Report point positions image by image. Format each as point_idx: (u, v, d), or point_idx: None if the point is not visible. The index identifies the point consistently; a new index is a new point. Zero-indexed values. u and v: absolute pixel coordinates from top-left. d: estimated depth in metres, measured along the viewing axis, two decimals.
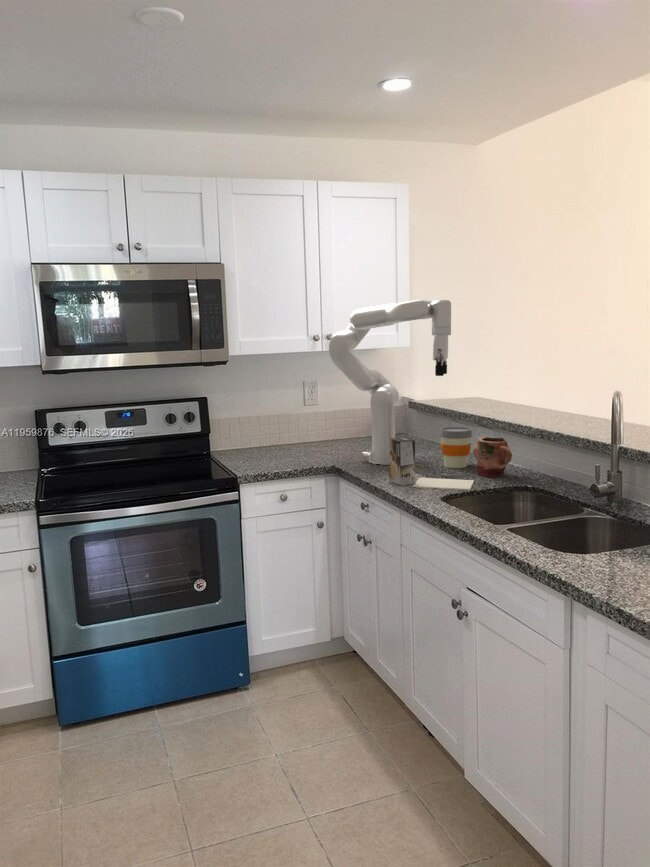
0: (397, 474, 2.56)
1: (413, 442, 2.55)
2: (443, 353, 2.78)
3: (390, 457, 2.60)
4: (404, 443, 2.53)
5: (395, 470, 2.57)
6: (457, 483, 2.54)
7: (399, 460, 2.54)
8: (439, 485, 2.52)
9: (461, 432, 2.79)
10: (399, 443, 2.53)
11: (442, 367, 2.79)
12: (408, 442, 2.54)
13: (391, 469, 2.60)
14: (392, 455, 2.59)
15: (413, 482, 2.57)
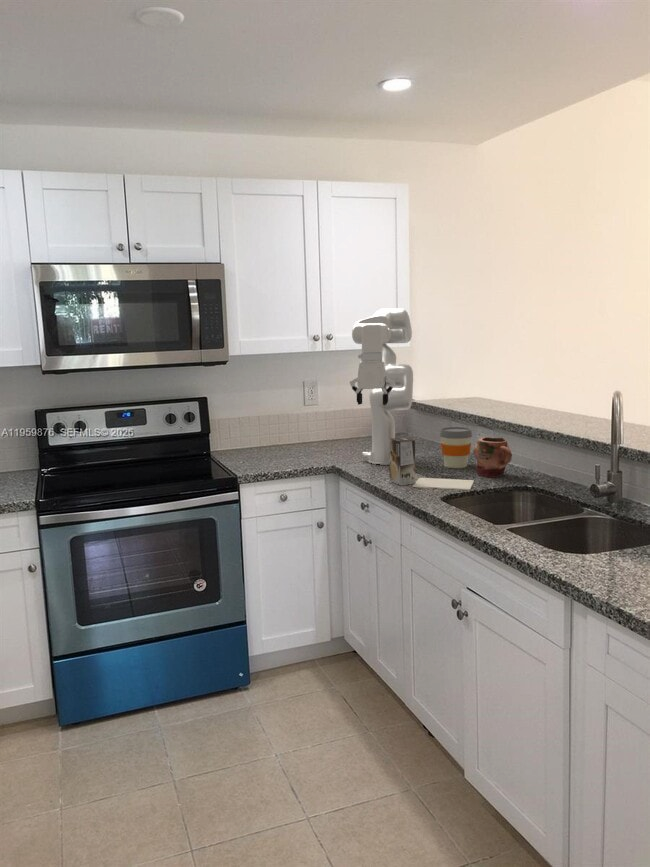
0: (397, 474, 2.56)
1: (413, 442, 2.55)
2: (386, 380, 2.61)
3: (390, 457, 2.60)
4: (404, 443, 2.53)
5: (395, 470, 2.57)
6: (457, 483, 2.54)
7: (399, 460, 2.54)
8: (439, 485, 2.52)
9: (461, 432, 2.79)
10: (399, 443, 2.53)
11: None
12: (408, 442, 2.54)
13: (391, 469, 2.60)
14: (392, 455, 2.59)
15: (413, 482, 2.57)
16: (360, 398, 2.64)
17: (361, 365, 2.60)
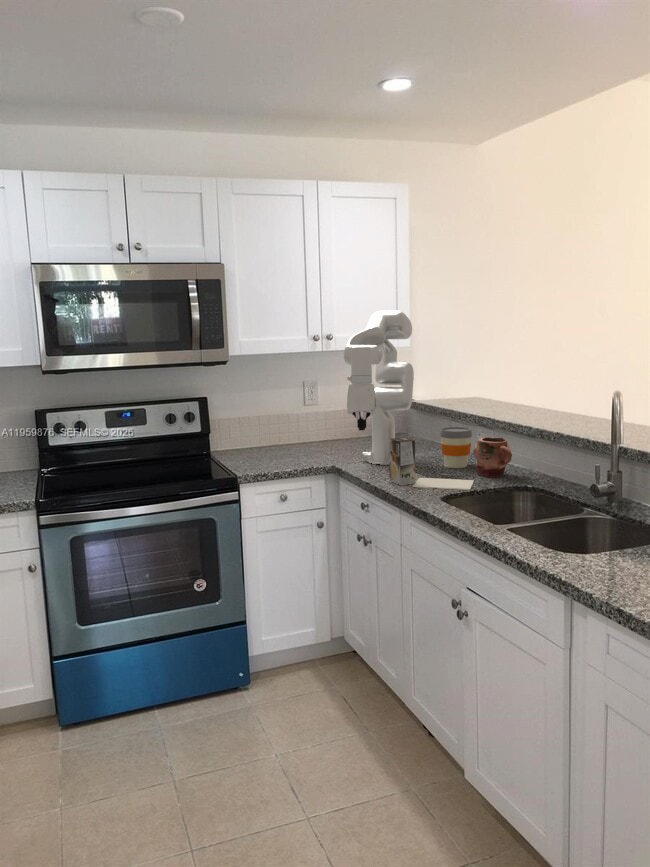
0: (397, 474, 2.56)
1: (413, 442, 2.55)
2: (375, 402, 2.60)
3: (390, 457, 2.60)
4: (404, 443, 2.53)
5: (395, 470, 2.57)
6: (457, 483, 2.54)
7: (399, 460, 2.54)
8: (439, 485, 2.52)
9: (461, 432, 2.79)
10: (399, 443, 2.53)
11: None
12: (408, 442, 2.54)
13: (391, 469, 2.60)
14: (392, 455, 2.59)
15: (413, 482, 2.57)
16: None
17: (351, 387, 2.57)
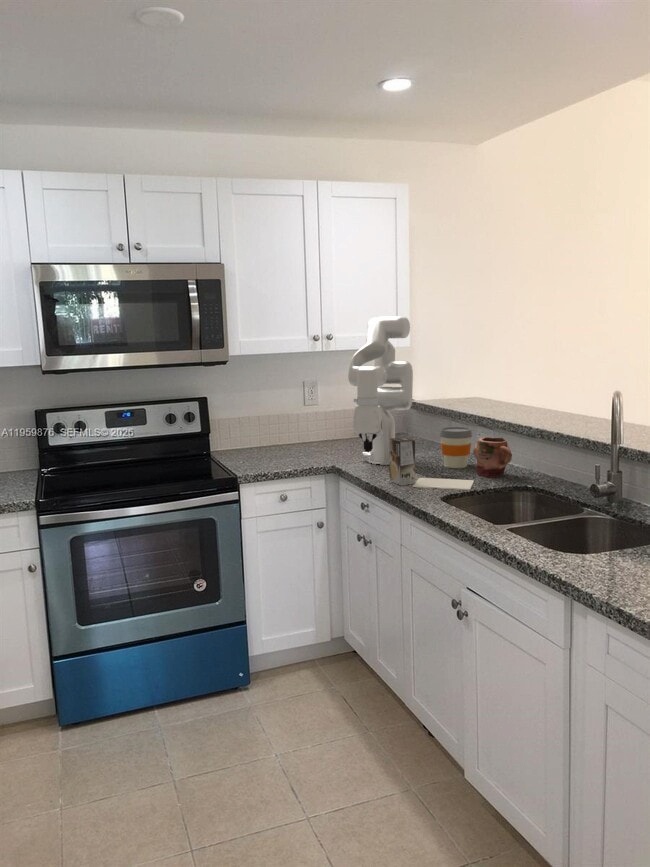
0: (397, 474, 2.56)
1: (413, 442, 2.55)
2: (382, 424, 2.60)
3: (390, 457, 2.60)
4: (404, 443, 2.53)
5: (395, 470, 2.57)
6: (457, 483, 2.54)
7: (399, 460, 2.54)
8: (439, 485, 2.52)
9: (461, 432, 2.79)
10: (399, 443, 2.53)
11: None
12: (408, 442, 2.54)
13: (391, 469, 2.60)
14: (392, 455, 2.59)
15: (413, 482, 2.57)
16: None
17: (357, 409, 2.58)
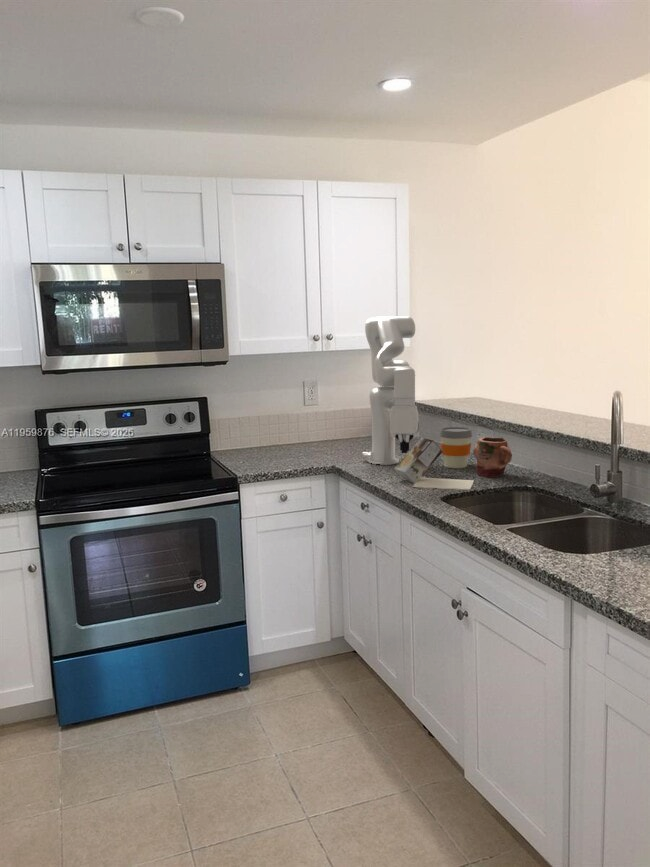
0: (408, 463, 2.58)
1: (440, 451, 2.59)
2: (418, 425, 2.56)
3: (411, 451, 2.63)
4: (434, 445, 2.58)
5: (408, 460, 2.59)
6: (457, 483, 2.54)
7: (420, 454, 2.57)
8: (439, 485, 2.52)
9: (461, 432, 2.79)
10: (431, 441, 2.58)
11: None
12: (437, 447, 2.59)
13: (404, 460, 2.62)
14: (414, 449, 2.62)
15: (414, 481, 2.57)
16: None
17: (394, 410, 2.54)
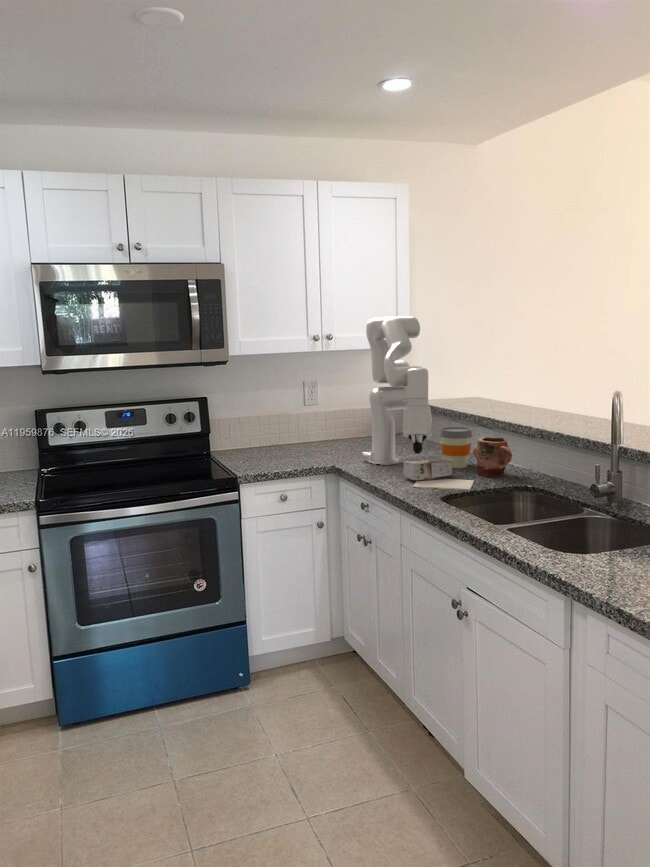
0: (420, 462, 2.60)
1: (450, 476, 2.62)
2: None
3: (427, 460, 2.67)
4: (450, 466, 2.61)
5: (421, 461, 2.62)
6: (457, 483, 2.54)
7: (435, 462, 2.60)
8: (439, 485, 2.52)
9: (461, 432, 2.79)
10: (450, 461, 2.62)
11: None
12: (451, 471, 2.62)
13: None
14: (431, 460, 2.66)
15: (414, 477, 2.57)
16: None
17: (407, 410, 2.53)
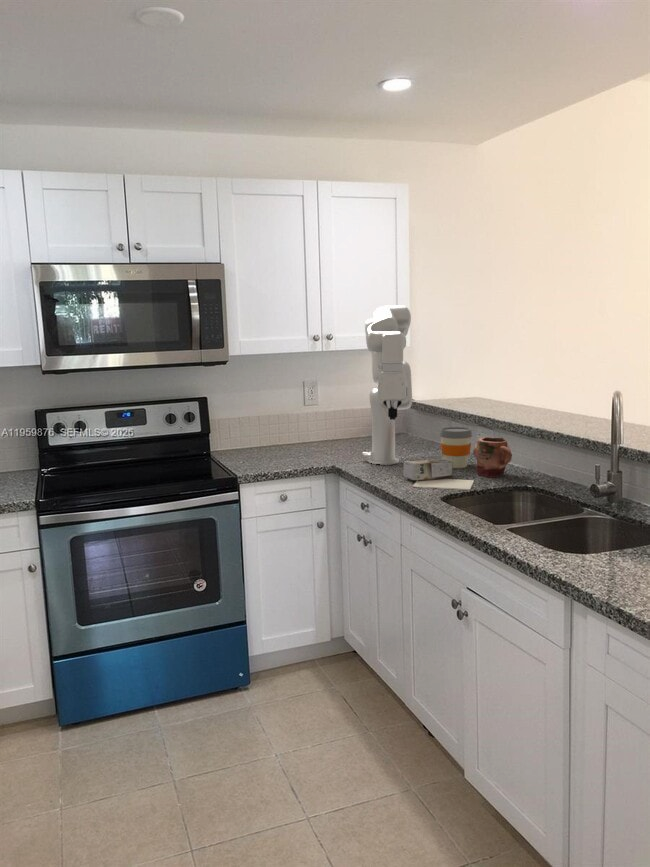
0: (420, 462, 2.60)
1: (450, 476, 2.62)
2: (407, 391, 2.54)
3: (427, 460, 2.67)
4: (450, 466, 2.61)
5: (421, 461, 2.62)
6: (457, 483, 2.54)
7: (435, 462, 2.60)
8: (439, 485, 2.52)
9: (461, 432, 2.79)
10: (450, 461, 2.62)
11: None
12: (451, 471, 2.62)
13: None
14: (431, 460, 2.66)
15: (414, 477, 2.57)
16: None
17: (382, 376, 2.51)
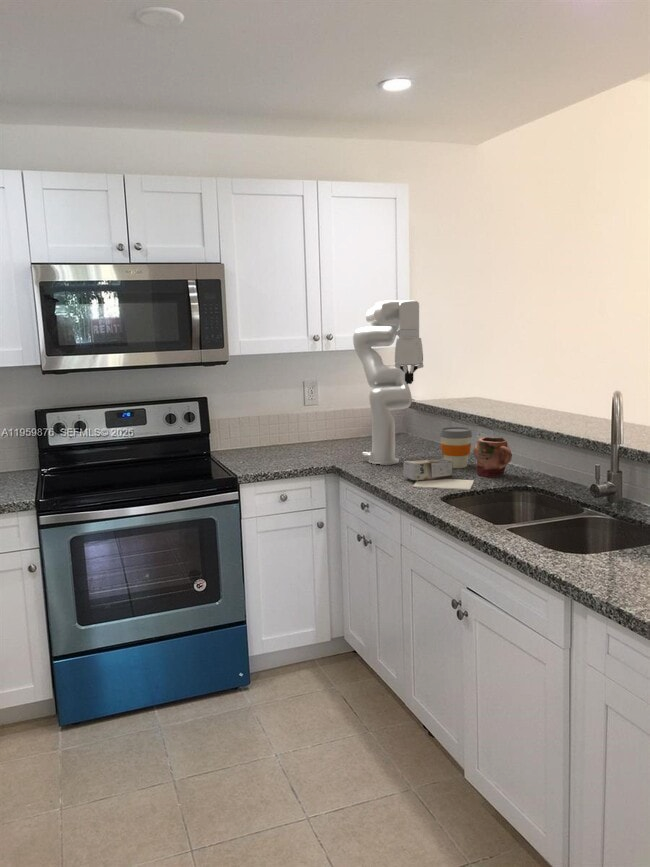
0: (420, 462, 2.60)
1: (450, 476, 2.62)
2: (422, 356, 2.65)
3: (427, 460, 2.67)
4: (450, 466, 2.61)
5: (421, 461, 2.62)
6: (457, 483, 2.54)
7: (435, 462, 2.60)
8: (439, 485, 2.52)
9: (461, 432, 2.79)
10: (450, 461, 2.62)
11: None
12: (451, 471, 2.62)
13: None
14: (431, 460, 2.66)
15: (414, 477, 2.57)
16: None
17: (399, 341, 2.63)
